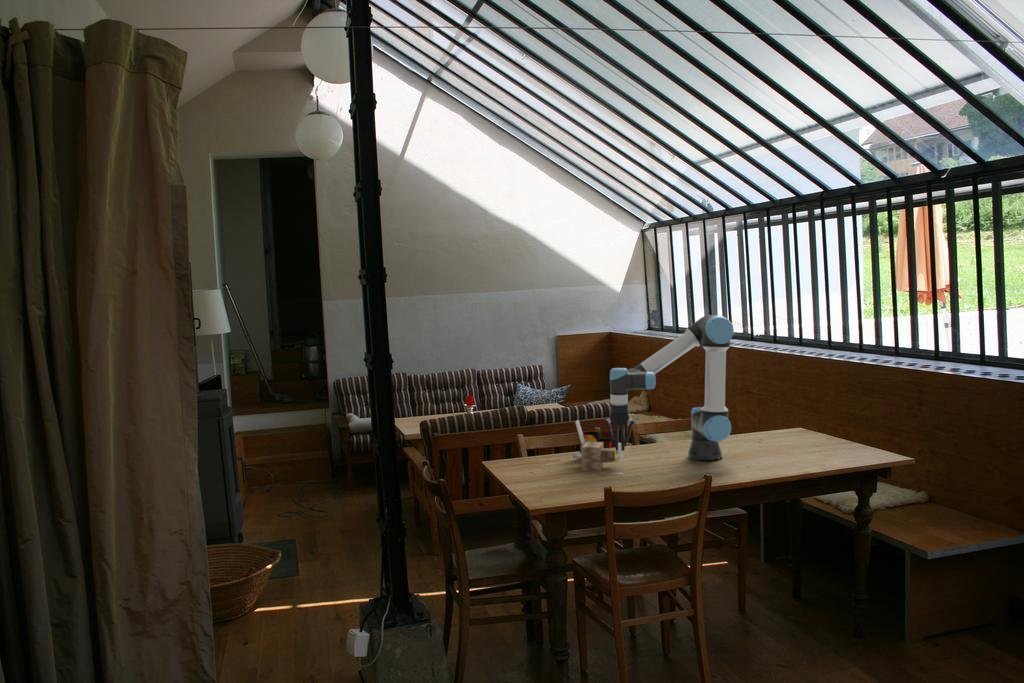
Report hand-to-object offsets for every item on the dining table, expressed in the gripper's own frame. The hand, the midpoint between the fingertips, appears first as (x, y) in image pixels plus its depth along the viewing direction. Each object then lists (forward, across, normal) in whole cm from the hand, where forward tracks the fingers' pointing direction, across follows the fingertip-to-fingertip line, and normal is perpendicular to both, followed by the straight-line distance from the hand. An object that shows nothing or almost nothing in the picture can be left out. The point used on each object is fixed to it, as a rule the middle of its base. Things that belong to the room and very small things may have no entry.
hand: (620, 458), depth 363 cm
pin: (+2, +11, 0) cm, 11 cm away
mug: (+5, +14, -18) cm, 23 cm away
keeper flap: (-11, +17, 0) cm, 20 cm away
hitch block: (+4, +10, 0) cm, 11 cm away
